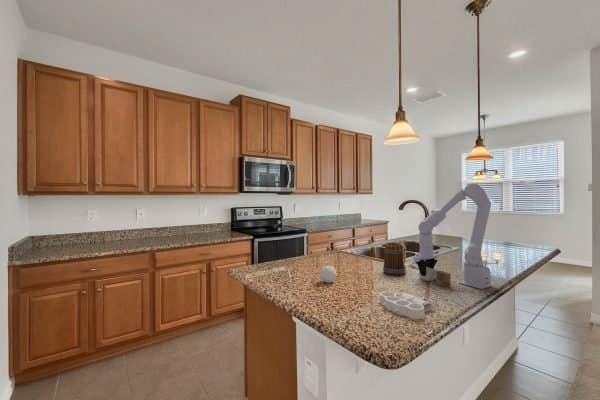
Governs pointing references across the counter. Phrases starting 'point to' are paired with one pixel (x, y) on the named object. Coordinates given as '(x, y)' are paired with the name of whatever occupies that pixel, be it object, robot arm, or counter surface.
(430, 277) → the white small block
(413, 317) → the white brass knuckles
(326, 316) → the counter surface
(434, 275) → the door
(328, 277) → the ball
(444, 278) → the wall
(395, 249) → the mug
